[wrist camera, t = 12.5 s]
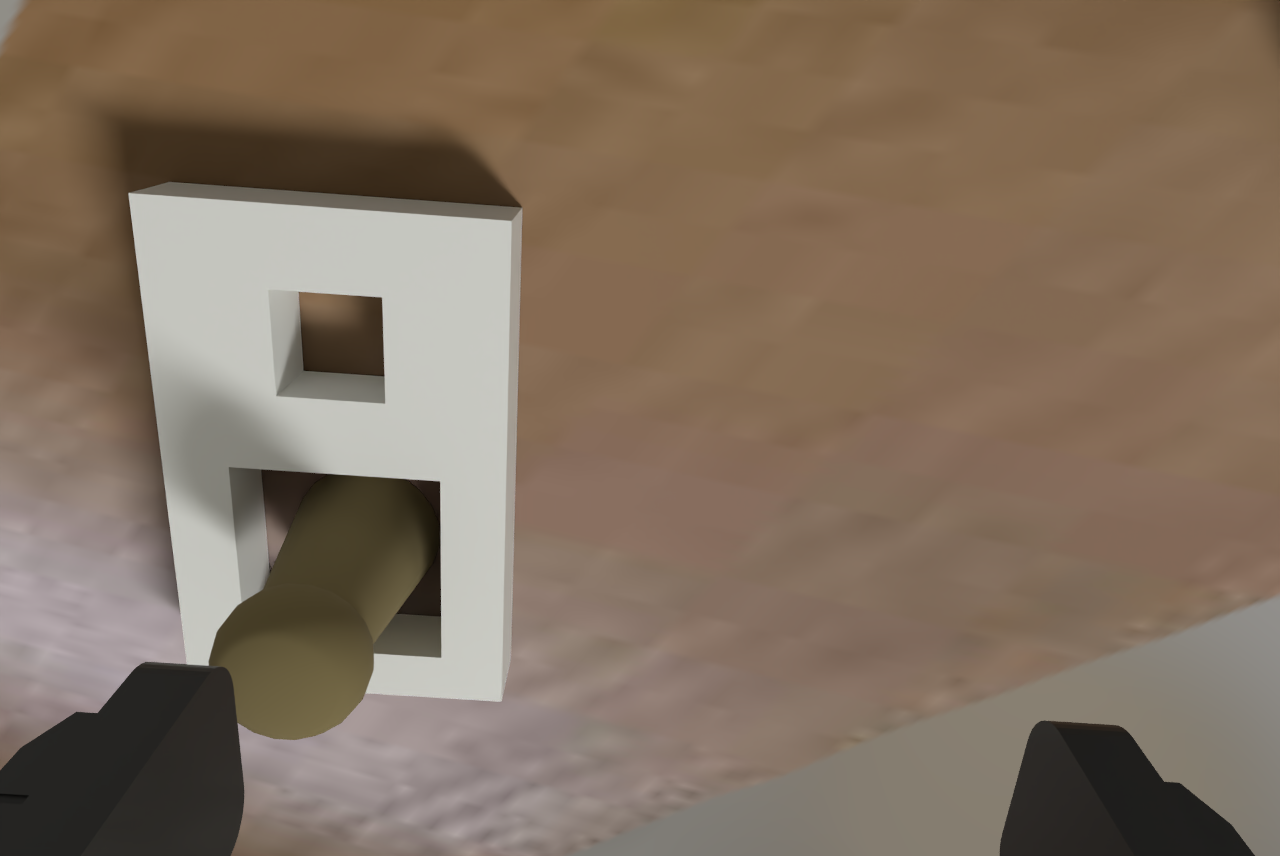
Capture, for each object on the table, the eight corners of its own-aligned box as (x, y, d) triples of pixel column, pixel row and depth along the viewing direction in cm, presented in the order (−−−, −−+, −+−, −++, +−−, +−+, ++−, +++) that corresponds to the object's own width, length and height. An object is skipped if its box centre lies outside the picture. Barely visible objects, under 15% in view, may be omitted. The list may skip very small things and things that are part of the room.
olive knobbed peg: (267, 525, 40) (138, 686, 30) (364, 438, 39) (264, 576, 28) (372, 617, 42) (283, 799, 32) (469, 537, 40) (409, 702, 30)
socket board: (522, 207, 35) (511, 220, 32) (511, 659, 43) (501, 701, 40) (169, 181, 35) (128, 193, 32) (219, 640, 42) (189, 682, 40)
